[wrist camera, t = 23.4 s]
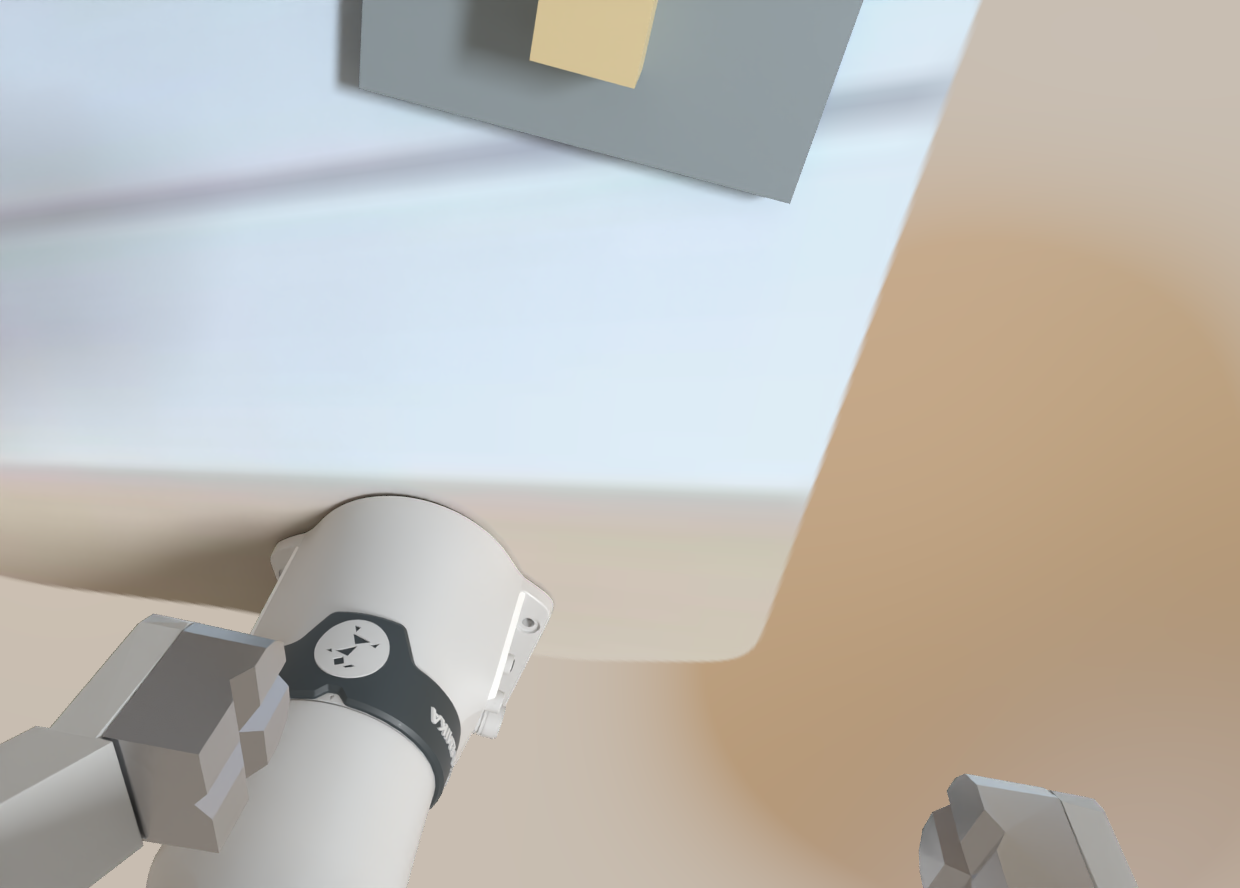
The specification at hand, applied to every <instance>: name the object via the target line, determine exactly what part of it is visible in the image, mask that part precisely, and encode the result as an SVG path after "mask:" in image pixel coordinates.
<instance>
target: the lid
mask: <svg viewBox="0 0 1240 888" xmlns="http://www.w3.org/2000/svg"><path fill="white" fill-rule="evenodd" d="M862 2H863V0H362V25H361V50H360V75H359V89H363V90H366V91H370V92H374V93H378V94H381V95H385V96H389V97H393V98H396V99H400V100H404V101H407V102H411V103H415V104H419V105H422V106H426V107H430V108H434V109H437V110H441V111H445V112H449V113H452V114H456V115H460V116H464V117H467V118H471V119H475V120H479V121H482V122H486V123H490V124H493V125H497V126H501V127H505V128H508V129H512V130H516V131H520V132H523V133H527V134H531V135H535V136H538V137H542V138H546V139H550V140H553V141H557V142H561V143H565V144H568V145H572V146H576V147H579V148H583V149H587V150H591V151H594V152H598V153H602V154H606V155H609V156H613V157H617V158H621V159H624V160H628V161H632V162H636V163H639V164H643V165H647V166H651V167H654V168H658V169H662V170H665V171H669V172H673V173H677V174H680V175H684V176H688V177H692V178H695V179H699V180H703V181H707V182H710V183H714V184H718V185H722V186H725V187H729V188H733V189H737V190H740V191H744V192H748V193H751V194H755V195H759V196H763V197H766V198H770V199H774V200H778V201H781V202H785V203H789V204H790V202H791V199H792V196H793V193H794V191H795V188H796V185H797V182H798V180H799V177H800V174H801V171H802V169H803V166H804V163H805V160H806V157H807V155H808V152H809V149H810V146H811V144H812V141H813V138H814V135H815V133H816V130H817V127H818V124H819V121H820V119H821V116H822V113H823V110H824V108H825V105H826V102H827V99H828V97H829V94H830V91H831V88H832V85H833V83H834V80H835V77H836V74H837V72H838V69H839V66H840V63H841V61H842V58H843V55H844V52H845V50H846V47H847V44H848V41H849V38H850V36H851V33H852V30H853V27H854V25H855V22H856V19H857V16H858V14H859V11H860V8H861V5H862Z"/></svg>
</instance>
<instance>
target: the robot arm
mask: <svg viewBox="0 0 1240 888" xmlns="http://www.w3.org/2000/svg"><path fill="white" fill-rule="evenodd" d="M270 561H271V565H272V568H273V570H274V573H275V576H276V579H277V583H276V585H275V587H274V589H273V591H272V593H271V595H270V596H269V598H268V600H267V602H266V604H265V606H264V608H263V610H262V612H261V614H260V615H259V617H258V619H257V621H256V623H255V625H254V627H253V629H252V631H251V633H250V634H245V633H241V632H236V631H232V630H227V629H223V628H219V627H214V626H209V625H205V624H201V623H196V622H191V621H186V620H181V619H177V618H172V617H167V616H162V615H157V614H152V615H151V616H149V617H147V618H146V619H144V620H143V621H141V622H140V623H138V624H137V625H136V627H135V628H134V629H133V630H132V631H131V632H130V633H129V635H128V636H127V637H126V638H125V639H124V641H123V642H122V643H121V644H120V645H119V646H118V648H117V649H116V650H115V651H114V652H113V654H112V655H111V656H110V657H109V658H108V660H107V661H106V662H105V663H104V664H103V665H102V667H101V668H100V669H99V670H98V671H97V672H96V674H95V675H94V676H93V677H92V678H91V680H90V681H89V682H88V683H87V684H86V686H85V687H84V688H83V689H82V690H81V691H80V693H79V694H78V695H77V696H76V697H75V698H74V700H73V701H72V702H71V703H70V704H69V706H68V707H67V708H66V709H65V710H64V712H63V713H62V714H61V715H60V716H59V717H58V719H57V720H56V721H55V722H54V723H53V725H52V726H51V727H50V728H45V727H39V726H35V727H33V728H31V729H29V730H27V731H25V732H23V733H21V734H20V735H17V736H15V737H14V738H11V739H10V740H7V741H6V742H4V743H2V744H0V888H89V887H90V886H92V885H93V884H94V883H96V882H97V881H98V880H99V879H101V878H102V877H103V876H105V875H106V874H107V873H109V872H110V871H111V870H113V869H114V868H115V867H116V866H118V865H119V864H120V863H122V862H123V861H124V860H126V859H127V858H128V857H129V856H131V855H132V854H133V853H135V852H136V851H137V850H139V849H140V848H141V847H142V846H143V841H147V842H153V843H159V844H162V846H161V847H160V849H159V851H158V852H157V854H156V856H155V858H154V860H153V862H152V865H151V867H150V871H149V874H148V879H147V884H146V885H147V886H146V888H407V885H408V881H409V877H410V874H411V870H412V866H413V862H414V859H415V856H416V852H417V849H418V845H419V841H420V838H421V834H422V831H423V828H424V824H425V821H426V818H427V815H428V811H429V809H431V808H432V807H433V805H435V803H436V802H437V801H438V799H439V798H440V796H441V794H442V791H443V789H444V786H446V784H447V782H448V780H449V778H450V775H451V772H452V770H453V767H454V765H455V764H456V763H457V761H458V759H459V757H460V755H461V754H462V752H463V750H464V748H465V746H466V744H467V742H468V740H469V738H470V736H471V734H472V733H473V734H474V733H475V732H476V734H477V735H481V736H483V737H487V738H490V739H493V738H494V739H495V738H496V737H497V734H498V732H499V729H500V726H501V723H502V720H503V716H504V713H505V708H506V704H507V702H508V700H509V698H510V696H511V694H512V692H513V690H514V688H515V686H516V684H517V682H518V680H519V678H520V676H521V674H522V672H523V670H524V668H525V666H526V664H527V662H528V660H529V658H530V656H531V654H532V652H533V650H534V648H535V646H536V644H537V642H538V641H539V639H540V637H541V635H542V633H543V631H544V629H545V627H546V625H547V623H548V621H549V619H550V616H551V613H552V611H553V608H554V604H553V601H552V599H551V598H550V597H549V596H548V595H547V594H546V593H545V592H544V591H543V590H542V589H540V588H539V587H538V586H536V585H535V584H534V583H532V582H531V581H529V580H528V579H526V578H525V577H524V576H523V575H522V574H521V573H520V572H519V570H518V569H517V568H516V566H515V565H514V563H513V562H512V560H511V558H510V557H509V555H508V554H507V553H506V551H505V550H504V549H503V547H502V546H501V545H500V544H499V543H498V542H497V541H496V540H495V539H494V538H493V537H492V536H491V535H490V534H489V533H488V532H487V531H485V530H484V529H483V528H482V527H480V526H479V525H478V524H476V523H475V522H473V521H472V520H470V519H468V518H467V517H465V516H463V515H461V514H459V513H457V512H455V511H453V510H451V509H448V508H446V507H444V506H441V505H438V504H435V503H432V502H428V501H425V500H420V499H415V498H410V497H401V496H375V497H368V498H363V499H358V500H355V501H352V502H349V503H346V504H344V505H342V506H340V507H338V508H336V509H334V510H333V511H332V512H330V513H329V514H328V515H326V516H325V517H324V518H323V519H322V520H321V521H320V522H319V523H318V524H317V525H316V526H315V527H314V528H313V529H311V530H310V531H308V532H307V533H303V534H299V535H296V536H292V537H289V538H287V539H284V540H282V541H280V542H279V543H278V544H277V545H276V546H275V548H274V550H273V552H272V554H271V557H270ZM528 618H530V619H528ZM947 793H948V797H949V801H950V805H948V806H946V807H943V808H941V809H939V810H936V811H934V812H932V814H931V816H930V818H929V819H928V821H927V823H926V824H925V826H924V828H923V830H922V836H921V842H920V848H919V862H920V863H919V865H920V874H921V880H922V885H923V888H1138V885H1137V883H1136V881H1135V879H1134V877H1133V874H1132V872H1131V870H1130V868H1129V865H1128V863H1127V861H1126V859H1125V856H1124V854H1123V852H1122V850H1121V847H1120V845H1119V843H1118V840H1117V838H1116V836H1115V834H1114V831H1113V829H1112V827H1111V825H1110V823H1109V820H1108V818H1107V816H1106V813H1105V811H1104V810H1103V808H1102V807H1101V806H1100V805H1099V804H1098V803H1097V802H1096V801H1095V800H1094V799H1092V798H1088V797H1083V796H1078V795H1073V794H1067V793H1062V792H1056V791H1051V790H1046V789H1045V788H1042V787H1036V786H1031V785H1025V784H1019V783H1013V782H1008V781H1003V780H997V779H992V778H986V777H981V776H975V775H970V774H963V775H961V776H959V777H956V778H955V779H954V781H953V782H952V784H951V785H950V787H949V788H948V790H947Z"/></svg>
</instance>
